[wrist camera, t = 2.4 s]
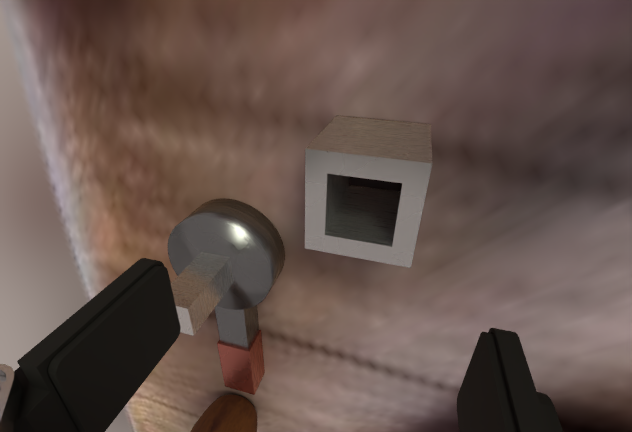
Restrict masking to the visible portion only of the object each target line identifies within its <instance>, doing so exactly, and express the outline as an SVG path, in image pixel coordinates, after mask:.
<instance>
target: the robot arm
mask: <svg viewBox="0 0 632 432" xmlns="http://www.w3.org/2000/svg"><path fill="white" fill-rule="evenodd" d="M180 329H181V327H180V322H179V318H178V314H177V309H176V305H175V301H174V296H173V292H172V288H171V283H170V279H169V275H168V271H167V268H166V267H164V265H163V263H162V262H160V261H156V260H151V259H146V258H142V259H140V260H138V261H137V262H136V263H135V264H134V265H132V266H131V267H130V268H129V269H128V270H126V271H125V272H124V273H123V274H122V275H120V276H119V277H118V278H117V279H116V280H114V281H113V282H112V283H111V284H110V285H108V286H107V287H106V288H105V289H104V290H102V291H101V292H100V293H99V294H98V295H96V296H95V297H94V298H93V299H91V300H90V301H89V302H88V303H87V304H85V305H84V306H83V307H82V308H81V309H80V310H78V311H77V312H76V313H75V314H73V315H72V316H71V317H70V318H69V319H67V320H66V321H65V322H64V323H63V324H62V325H60V326H59V327H58V328H57V329H56V330H54V331H53V332H52V333H51V334H49V335H48V336H47V337H46V338H45V339H44V340H42V341H41V342H40V343H39V344H37V345H36V346H35V347H34V348H33V349H31V350H30V351H29V352H28V353H27V354H25V355H24V356H23V357H22V358H21V359H19V360H18V364H19V365H20V367H19V368H18V369H17V370H15V371H13V369H12V368H11V367H10V366H7V365H5V364H0V432H105V431H106V429H107V428H108V427H109V426H110V424H111V423H112V422H113V420H114V419H115V418H116V417H117V415H118V414H119V413H120V411H121V410H122V409H123V408H124V406H125V405H126V404H127V402H128V401H129V400H130V399H131V397H132V396H133V395H134V393H135V392H136V391H137V390H138V388H139V387H140V386H141V384H142V383H143V382H144V381H145V379H146V378H147V377H148V375H149V374H150V373H151V372H152V370H153V369H154V368H155V366H156V365H157V364H158V362H159V361H160V360H161V359H162V357H163V356H164V355H165V353H166V352H167V351H168V350H169V348H170V347H171V346H172V344H173V343H174V342H175V341H176V339H177V338H178V336H179V334H180ZM457 414H458V424H459V432H563V430H562V427H561V424H560V421H559V419H558V416H557V413H556V410H555V407H554V405H553V403H552V401H551V399H550V398H549V397H548V396H547V395H546V394H543V393H539V392H536V389H535V386H534V383H533V380H532V377H531V373H530V370H529V367H528V364H527V361H526V358H525V355H524V352H523V349H522V346H521V343H520V339H519V337H518V335H517V333H515V332H510V331H505V330H500V329H496V328H491V329H490V330H489V332H488V333H487V332H482V333H481V334H480V337H479V340H478V342H477V345H476V348H475V350H474V353H473V356H472V359H471V361H470V364H469V367H468V369H467V372H466V375H465V377H464V380H463V383H462V385H461V388H460V391H459V393H458V398H457Z"/></svg>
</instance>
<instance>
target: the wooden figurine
mask: <svg viewBox="0 0 632 432" xmlns="http://www.w3.org/2000/svg"><path fill="white" fill-rule="evenodd" d="M191 432H257V412H256V410H255V408H254V407H253V405H252V404H251V403H250V402H249V401H248V400H247V399H245V398H243V397H242V396H238V395H231V394H229V395H224V396H221V397H219V398H218V399H217V400H216V401H215V402H213V403H212V404H211V405H210V406H209V407H208V409H207V410H206V411H205V412H204V413H203V415H202V416H201V417H200V418H199V420H198V421H197V422H196V424H195V425H194V427H193V428H192V430H191Z"/></svg>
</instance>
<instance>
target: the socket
mask: <svg viewBox="0 0 632 432" xmlns="http://www.w3.org/2000/svg"><path fill="white" fill-rule="evenodd" d="M431 167H432V140H431V124H423V123H412V122H401V121H390V120H379V119H369V118H358V117H347V116H336V117H335V118H334V119H333V120H332V121H331V122H330V123H329V124H328V125H327V126H326V127H325V128H324V130H323V131H322V132H321V133H320V134H319V135H318V136H317V137H316V138H315V139H314V140H313V141H312V142H311V143H310V144H309V146H308V147H307V148H306V152H305V248H306V249H311V250H316V251H322V252H327V253H333V254H338V255H343V256H349V257H354V258H360V259H365V260H370V261H376V262H381V263H387V264H392V265H398V266H403V267H408V268H411V265H412V260H413V255H414V250H415V245H416V240H417V235H418V231H419V226H420V221H421V216H422V211H423V206H424V201H425V197H426V192H427V187H428V182H429V177H430V172H431ZM349 176H350V177H358V178H366V179H373V180H381V181H388V182H396V183H402V186H401V192H398V191H391V190H384V189H376V188H369V187H362V186H354V185H349Z"/></svg>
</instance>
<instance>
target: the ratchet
mask: <svg viewBox="0 0 632 432" xmlns="http://www.w3.org/2000/svg"><path fill="white" fill-rule="evenodd" d="M168 254H169V259H170V262H171V264H172V267H173V269H174V270H175V272H176V274H177V275H178V277H177V278H176V279H175V280H174V281H173V282H172V283H171V288H172V292H173V296H174V301H175V305H176V309H177V314H178V318H179V322H180V327H181V329H180V332H182V333H185V334H189V335H193V336H194V335H195V334H196V332H197V331H198V330H199V328H200V327H201V325H202V324H203V323H204V321H205V320H206V319H207V317H208V316H209V315H210V313H211V312H212V311H213V309H214V308H215V313H216V319H217V324H218V330H219V336H220V340H219V342H218V343H217V344H218V350H219V355H220V361H221V366H222V372H223V377H224V383H225V386H226V387H230V388H233V389H236V390H240V391H243V392H246V393H250V394H253V395H254V394H255V392H256V390H257V388H258V386H259V383H260V381H261V379H262V377H263V375H264V373H265V372H264V360H263V348H262V337H261V330H259V325H258V314H257V305H258V304H259V303H260V302H262V301H263V300H264V299H265V297H266V296H267V294H268V292H269V291H270V289H271V287H272V285H273V284H274V282H275V280H276V278H277V277H278V275H279V273H280V272H281V270H282V268H283V265H284V260H285V251H284V246H283V242H282V239H281V237H280V235H279V233H278V231H277V230H276V228H275V227H274V225H273V224H272V223H271V222H270V221H269V220H268V219H267V218H266V217H265V216H264V215H263V214H262V213H260V212H259V211H258V210H256V209H255V208H253V207H251V206H249V205H247V204H245V203H243V202H240V201H236V200H232V199H215V200H211V201H208V202H206V203H204V204H202V205H201V206H200V207H199V208H198V209H196V210H195V211H194V212H193V213H192V214H190V215H189V216H188V217H187V218H185V219H184V220H183V221H182V222H181V223H179V224H178V225H177V226H176V227H175V228H174V229H173V230H172V232H171V234H170V237H169V240H168Z"/></svg>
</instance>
